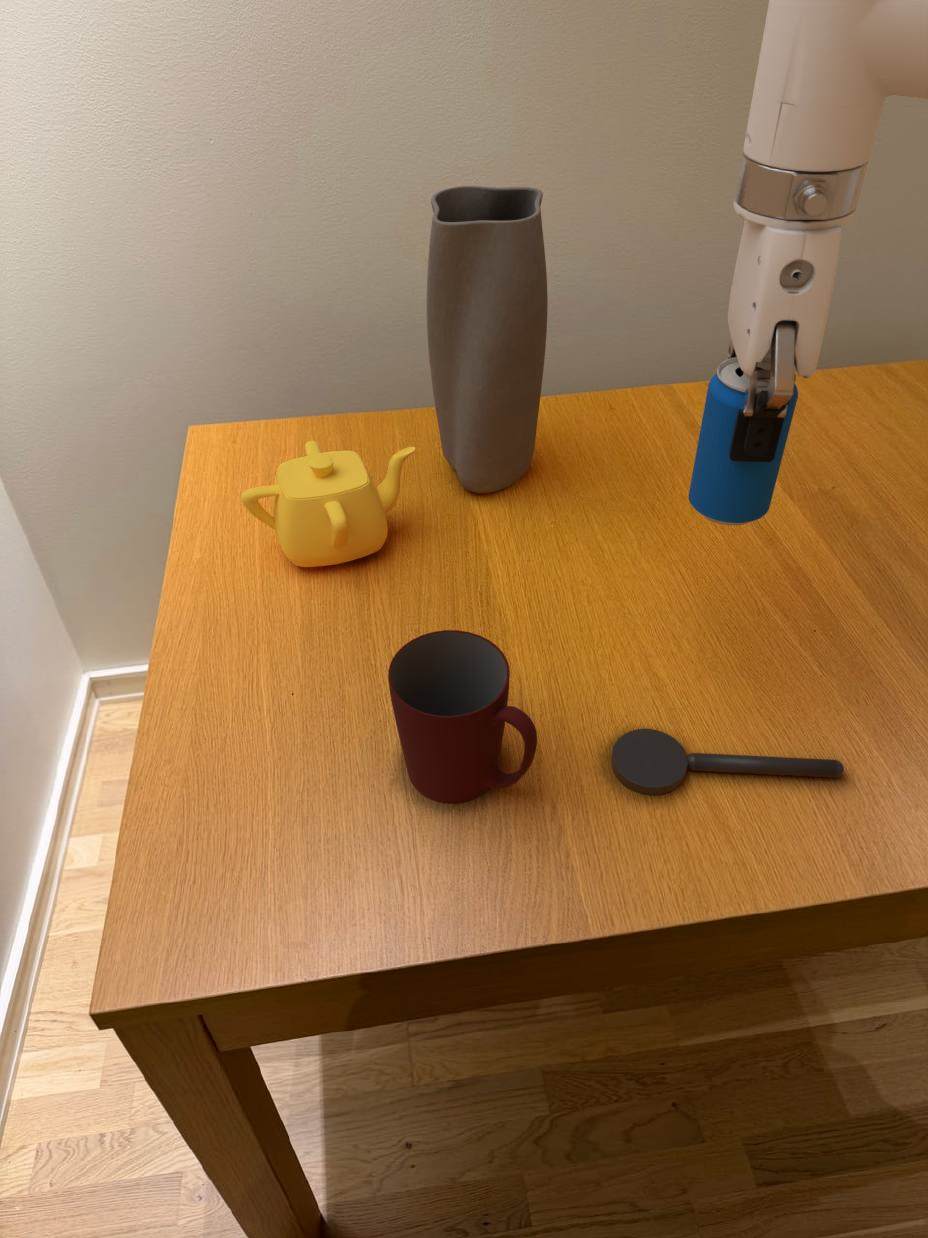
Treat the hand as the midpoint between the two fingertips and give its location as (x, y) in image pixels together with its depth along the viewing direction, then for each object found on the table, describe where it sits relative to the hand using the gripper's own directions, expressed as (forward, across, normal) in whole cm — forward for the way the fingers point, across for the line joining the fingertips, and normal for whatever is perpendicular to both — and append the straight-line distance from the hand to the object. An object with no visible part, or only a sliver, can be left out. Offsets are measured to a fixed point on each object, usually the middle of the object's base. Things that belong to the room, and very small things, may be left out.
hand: (744, 432), depth 68 cm
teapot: (+22, +12, +36) cm, 44 cm away
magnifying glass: (+22, -16, 0) cm, 27 cm away
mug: (+22, -18, +20) cm, 35 cm away
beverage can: (+7, 0, 0) cm, 7 cm away
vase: (+22, +26, +22) cm, 40 cm away
